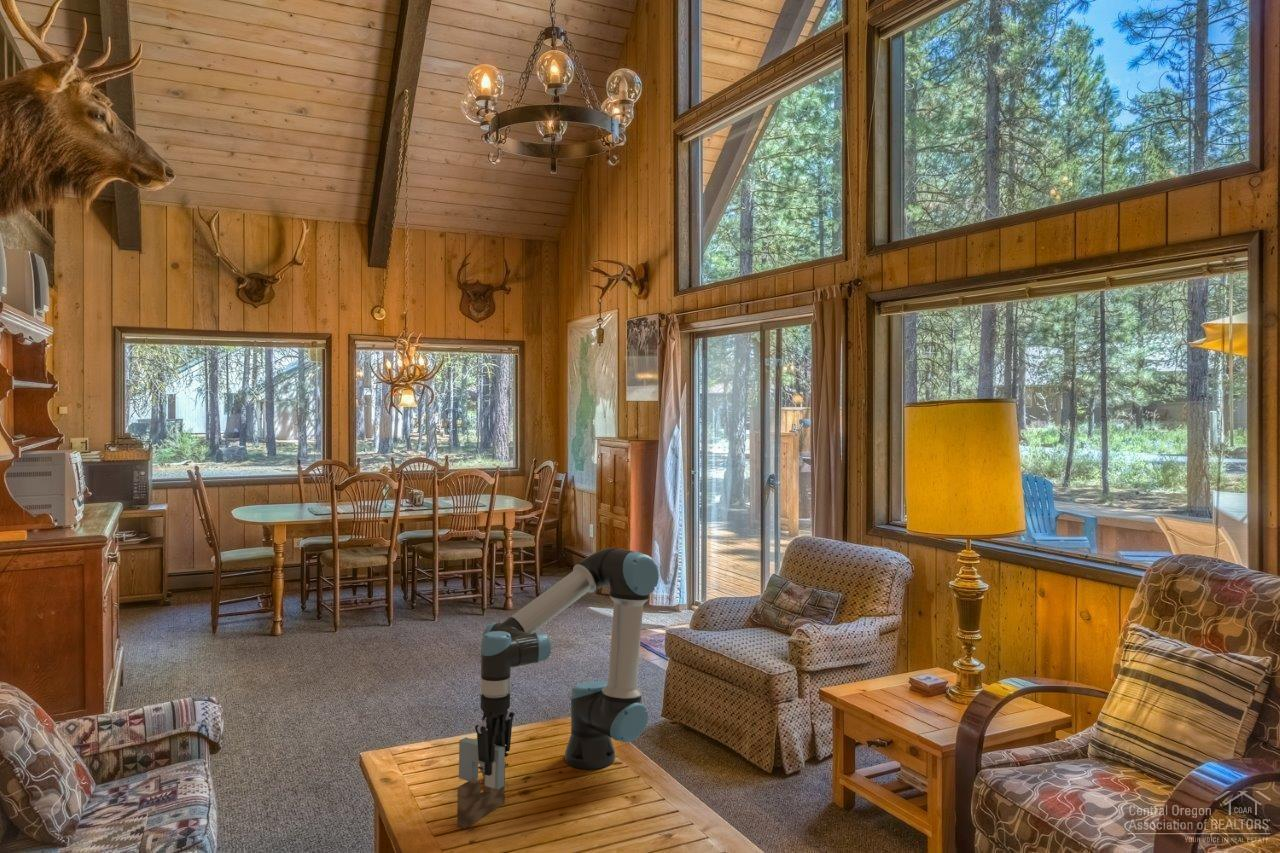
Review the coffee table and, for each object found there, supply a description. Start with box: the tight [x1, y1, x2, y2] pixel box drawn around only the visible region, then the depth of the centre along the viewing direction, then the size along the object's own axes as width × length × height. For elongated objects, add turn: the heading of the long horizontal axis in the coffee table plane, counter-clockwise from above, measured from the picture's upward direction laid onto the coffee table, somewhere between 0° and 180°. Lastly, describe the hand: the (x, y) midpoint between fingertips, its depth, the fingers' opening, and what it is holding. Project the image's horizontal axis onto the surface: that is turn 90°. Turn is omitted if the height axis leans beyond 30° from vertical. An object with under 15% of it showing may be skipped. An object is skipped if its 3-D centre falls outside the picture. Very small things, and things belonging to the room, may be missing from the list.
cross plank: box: [458, 737, 506, 789], centre depth 220 cm, size 2×13×10 cm, turn 61°
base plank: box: [456, 766, 506, 830], centre depth 220 cm, size 16×2×10 cm, turn 151°
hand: (494, 783), depth 218 cm, fingers closed on cross plank, 2 cm apart
